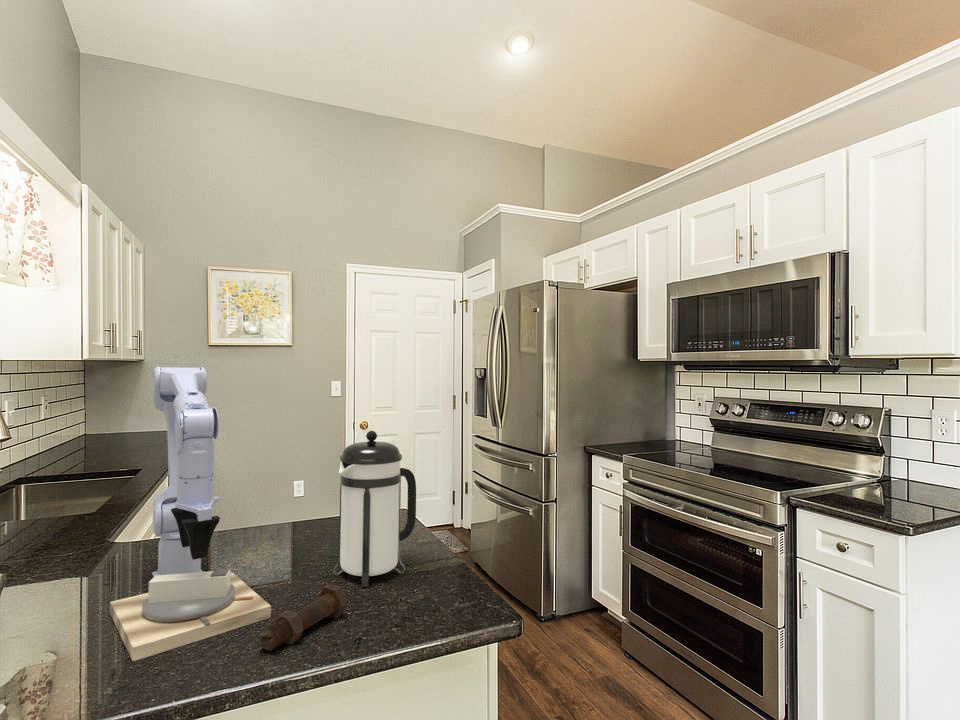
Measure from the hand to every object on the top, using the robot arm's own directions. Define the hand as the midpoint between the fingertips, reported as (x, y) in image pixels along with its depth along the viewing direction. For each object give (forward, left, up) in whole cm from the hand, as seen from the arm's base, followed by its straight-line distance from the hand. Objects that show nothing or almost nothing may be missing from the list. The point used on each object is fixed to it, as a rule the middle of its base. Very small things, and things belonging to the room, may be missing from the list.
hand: (193, 551), depth 92 cm
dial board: (+3, -1, -10) cm, 10 cm away
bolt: (+21, +11, -10) cm, 26 cm away
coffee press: (+7, +33, -10) cm, 35 cm away
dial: (+3, -1, -8) cm, 8 cm away
